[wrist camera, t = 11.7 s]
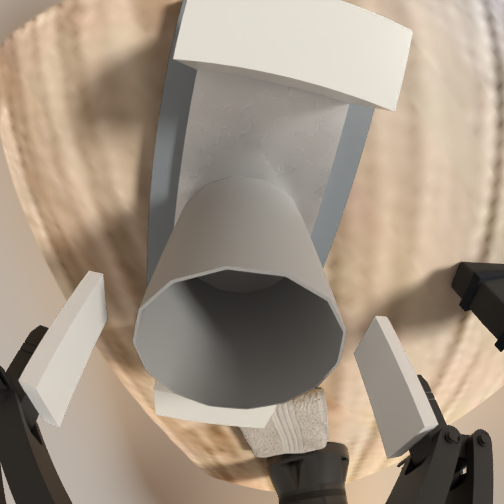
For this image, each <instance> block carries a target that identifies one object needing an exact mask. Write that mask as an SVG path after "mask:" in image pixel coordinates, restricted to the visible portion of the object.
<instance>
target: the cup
mask: <svg viewBox="0 0 504 504" xmlns="http://www.w3.org/2000/svg"><path fill="white" fill-rule="evenodd" d="M346 332H347V331H346V329H345V326H344V323H343V320H342V317H341V315H340V312H339V309H338V306H337V304H336V301H335V298H334V296H333V293H332V290H331V288H330V285H329V283H328V280H327V277H326V275H325V272H324V270H323V267H322V265H321V262H320V260H319V257H318V255H317V252H316V250H315V247H314V245H313V242H312V240H311V237H310V235H309V232H308V230H307V228H306V225H305V223H304V220H303V219H302V217H301V215H300V213H299V211H298V209H297V207H296V205H295V203H294V201H293V200H292V198H291V196H289V195H288V194H286V193H285V192H284V191H282V190H281V189H279V188H278V187H276V186H275V185H273V184H272V183H270V182H269V181H267V180H264V179H258V178H251V177H245V176H238V175H235V176H231V177H228V178H225V179H222V180H218V181H215V182H212V183H209V184H206V185H205V186H204V187H203V188H202V189H201V190H200V191H199V192H198V193H196V194H195V195H194V196H193V197H192V198H191V199H190V200H189V201H188V202H187V203H186V204H185V206H184V208H183V210H182V212H181V214H180V217H179V219H178V221H177V223H176V225H175V227H174V229H173V231H172V233H171V236H170V238H169V240H168V242H167V244H166V246H165V249H164V251H163V253H162V255H161V258H160V260H159V262H158V264H157V267H156V269H155V271H154V274H153V276H152V278H151V281H150V283H149V285H148V288H147V290H146V292H145V295H144V297H143V300H142V302H141V305H140V307H139V310H138V315H137V320H136V325H135V331H134V336H133V344H134V346H135V348H136V351H137V353H138V355H139V357H140V359H141V361H142V363H143V365H144V367H145V369H146V371H147V372H148V373H149V374H150V375H152V376H153V377H154V378H155V379H157V380H158V381H159V382H160V383H161V384H163V385H164V386H165V387H166V388H168V389H169V390H170V391H172V392H173V393H175V394H177V395H180V396H182V397H185V398H187V399H190V400H193V401H196V402H198V403H201V404H204V405H207V406H212V407H221V408H232V409H246V410H248V409H254V408H260V407H266V406H272V405H277V404H283V403H286V402H288V401H290V400H292V399H294V398H296V397H298V396H301V395H303V394H305V393H307V392H309V391H311V390H313V389H314V388H316V387H318V386H319V385H320V384H321V383H322V381H323V380H324V379H325V378H326V377H327V376H328V375H329V374H330V373H331V372H332V371H333V370H334V369H335V367H336V366H337V365H338V364H339V363H340V360H341V355H342V351H343V346H344V342H345V337H346Z"/></svg>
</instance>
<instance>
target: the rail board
mask: <svg viewBox="0 0 504 504" xmlns="http://www.w3.org/2000/svg"><path fill="white" fill-rule="evenodd" d="M186 3H187V0H183V3H182V6H181V10H180V14H179V18H178V22H177V26H176V30H175V34H174V39H173V43H172V47H171V52H170V57H169V62H168V67H167V72H166V77H165V83H164V88H163V94H162V100H161V106H160V113H159V120H158V127H157V134H156V142H155V150H154V159H153V169H152V180H151V192H150V205H149V222H148V244H147V288H148V285H149V283H150V281H151V278H152V276H153V274H154V271H155V269H156V267H157V264H158V262H159V260H160V258H161V255H162V253H163V251H164V249H165V246H166V244H167V242H168V240H169V238H170V236H171V233H172V231H173V229H174V222H175V212H176V203H177V194H178V186H179V178H180V170H181V162H182V155H183V148H184V142H185V135H186V129H187V123H188V117H189V111H190V105H191V100H192V94H193V89H194V84H195V79H196V74H197V70H196V69H194V68H192V67H189V66H187V65H185V64H183V63H181V62H178V61H176V60H174V59H173V57H174V52H175V48H176V43H177V39H178V34H179V30H180V26H181V22H182V18H183V14H184V10H185V7H186ZM373 112H374V108H372V107H367V106H361V105H354V104H349V107H348V111H347V115H346V119H345V122H344V126H343V130H342V133H341V137H340V141H339V144H338V148H337V151H336V155H335V159H334V162H333V165H332V169H331V172H330V176H329V179H328V183H327V186H326V189H325V193H324V196H323V199H322V202H321V206H320V209H319V212H318V215H317V218H316V222H315V225H314V228H313V231H312V234H311V240H312V242H313V245H314V247H315V250H316V252H317V255H318V257H319V260H320V262H321V265H322V267H324V265H325V262H326V259H327V257H328V254H329V251H330V248H331V246H332V243H333V240H334V237H335V235H336V232H337V229H338V226H339V223H340V220H341V217H342V214H343V211H344V208H345V206H346V202H347V199H348V196H349V193H350V190H351V187H352V184H353V181H354V178H355V175H356V171H357V168H358V165H359V162H360V158H361V155H362V151H363V148H364V145H365V141H366V138H367V134H368V131H369V127H370V123H371V120H372V116H373Z"/></svg>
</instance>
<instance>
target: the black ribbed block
mask: <svg viewBox="0 0 504 504" xmlns="http://www.w3.org/2000/svg"><path fill="white" fill-rule="evenodd" d="M452 288H453V289H454V290H455V291H456V293H457V294H458V295H459V296H460V297H461V299H462V300H461V302H460V304H459V305H460V306H461V308H462V309H463V310H464V311H468V310H472V312H473V313H474V314H475V315H476V316H477V318H478V319H479V320H480V321H481V322H482V324H483V325H484V326H485V327H486V328H487V329H488V330H489V331H490V332H491V333H492V334H493V335H494V336H495V337H496V338H497V339H498V340H497V342H496V343H495V346H496V347H497V348H498V350H499V351H500V352H502V351H503V350H504V264H490V263H471V262H462V263H461V264H460V266H459V269H458V271H457V274H456V276H455V278H454V281H453V283H452Z"/></svg>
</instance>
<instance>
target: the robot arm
mask: <svg viewBox="0 0 504 504" xmlns="http://www.w3.org/2000/svg"><path fill="white" fill-rule="evenodd" d="M107 319H108V316H107V307H106V298H105V288H104V277H103V274H102V273H98V272H93V271H88V273H87V274H86V275H85V277H84V278H83V279H82V281H81V282H80V283H79V285H78V286H77V288H76V289H75V290H74V292H73V293H72V295H71V296H70V298H69V299H68V300H67V302H66V303H65V305H64V306H63V308H62V309H61V311H60V312H59V314H58V315H57V317H56V318H55V320H54V321H53V323H52V324H51V326H50V328H47V327H44V326H41V325H40V326H38V327H37V328H36V329H34V330H33V331H32V332H31V333H30V334H29V336H28V337H27V339H26V340H25V343H23V345H22V346H21V348H20V350H19V351H18V353H17V354H16V356H15V358H14V359H13V361H12V363H11V364H10V366H9V368H8V369H7V371H6V372H5V370H4V369H3V368H2V367H1V366H0V461H1V465H2V468H3V471H4V473H5V477H6V479H7V482H8V485H9V488H10V490H11V493H12V495H13V498H14V500H15V503H16V504H72V502H71V500H70V498H69V496H68V494H67V493H66V491H65V489H64V487H63V484H62V482H61V480H60V478H59V476H58V474H57V472H56V470H55V467H54V465H53V463H52V460H51V458H50V455H49V453H48V451H47V449H46V446H45V443H44V441H43V438H42V435H41V432H40V429H39V426H38V424H37V422H36V420H37V417H38V415H40V417H41V418H42V419H43V421H44V422H46V423H49V424H51V425H54V426H56V427H59V428H60V426H61V423H62V421H63V418H64V416H65V413H66V410H67V408H68V405H69V403H70V400H71V398H72V396H73V393H74V391H75V388H76V386H77V383H78V381H79V379H80V377H81V374H82V372H83V370H84V367H85V365H86V363H87V361H88V359H89V357H90V354H91V352H92V350H93V348H94V346H95V344H96V342H97V340H98V337H99V335H100V333H101V331H102V329H103V327H104V325H105V323H106V321H107ZM354 355H355V358H356V361H357V364H358V367H359V370H360V373H361V376H362V379H363V382H364V385H365V388H366V391H367V394H368V397H369V400H370V403H371V406H372V409H373V412H374V415H375V419H376V422H377V425H378V428H379V432H380V435H381V438H382V442H383V445H384V449H385V452H386V456H387V459H388V458H394V457H399V456H402V455H403V454H404V453H405V452H407V451H408V450H409V452H410V455H409V456H408V457H407V458H405V459H404V460H403V461H401V462H400V463H399V464H398V465H397V467H400V466H401V465H403V464H404V463H405V464H404V466H403V467H402V470H401V473H400V475H399V477H398V479H397V482H396V484H395V486H394V488H393V490H392V492H391V494H390V496H389V498H388V500H387V502H386V504H493V455H492V443H491V438H490V436H489V434H488V433H487V432H486V431H484V430H482V429H478V430H477V431H475V432H474V433H473V434H472V435H463V434H460V433H459V431H458V430H457V429H456V428H455V427H453V426H450V425H447V424H446V422H445V420H444V418H443V415H442V413H441V411H440V409H439V406H438V404H437V402H436V400H435V398H434V395H433V393H431V389H430V387H429V385H428V383H427V381H426V380H425V379H424V378H423V377H422V376H421V375H416V373H415V371H414V369H413V366H412V364H411V362H410V360H409V358H408V356H407V354H406V352H405V350H404V348H403V346H402V344H401V342H400V340H399V338H398V336H397V335H396V333H395V331H394V329H393V327H392V325H391V323H390V321H389V319H388V318H387V317H384V316H375V317H374V318H373V320H372V322H371V324H370V326H369V328H368V329H367V331H366V333H365V335H364V336H363V338H362V340H361V342H360V343H359V345H358V347H357V349H356V350H355V352H354ZM348 464H349V454H348V449H347V447H346V446H345V445H343V444H339V443H326V446H325V447H324V448H323V449H320V450H314V451H310V452H306V453H287V454H281V455H275V456H271V457H269V458H268V459H267V472H268V475H269V477H270V479H271V481H272V484H273V486H274V488H275V490H276V492H277V494H278V498H279V504H348V503H347V497H346V492H345V481H346V476H347V470H348ZM1 465H0V504H6V500H5V494H4V488H3V481H2V473H1ZM466 467H467V469H466V473H465V474H463V469H464V468H466Z"/></svg>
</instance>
